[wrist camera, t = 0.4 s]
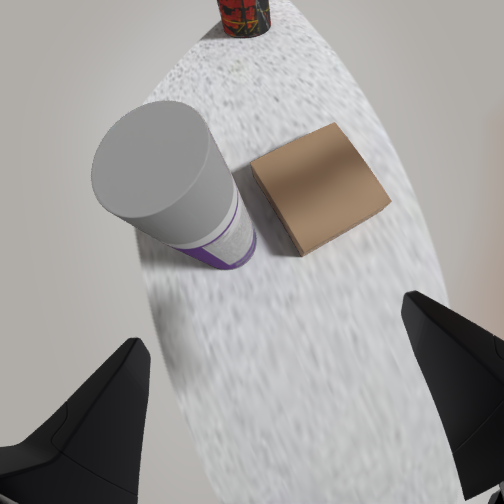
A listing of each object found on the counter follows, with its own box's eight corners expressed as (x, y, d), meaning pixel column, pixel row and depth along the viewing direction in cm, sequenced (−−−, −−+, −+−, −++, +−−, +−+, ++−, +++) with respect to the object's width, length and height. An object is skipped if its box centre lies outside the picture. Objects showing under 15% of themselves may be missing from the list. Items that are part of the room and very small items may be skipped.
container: (189, 246, 23) (69, 176, 9) (224, 202, 24) (150, 82, 9) (232, 282, 23) (143, 253, 8) (268, 235, 23) (245, 131, 8)
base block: (381, 210, 22) (391, 201, 20) (301, 257, 22) (304, 252, 20) (330, 137, 24) (334, 122, 21) (253, 175, 24) (250, 162, 21)
